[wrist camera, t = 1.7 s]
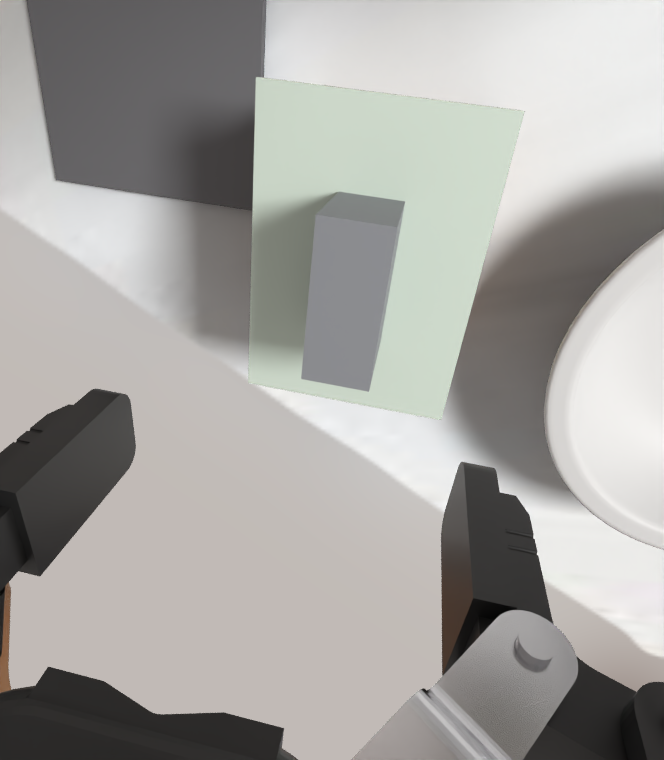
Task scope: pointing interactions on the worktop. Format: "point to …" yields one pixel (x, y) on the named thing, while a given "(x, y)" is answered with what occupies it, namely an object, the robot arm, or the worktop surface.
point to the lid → (369, 239)
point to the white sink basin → (615, 399)
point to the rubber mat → (152, 94)
